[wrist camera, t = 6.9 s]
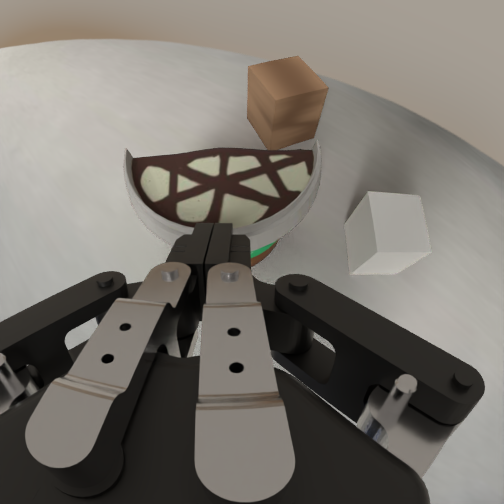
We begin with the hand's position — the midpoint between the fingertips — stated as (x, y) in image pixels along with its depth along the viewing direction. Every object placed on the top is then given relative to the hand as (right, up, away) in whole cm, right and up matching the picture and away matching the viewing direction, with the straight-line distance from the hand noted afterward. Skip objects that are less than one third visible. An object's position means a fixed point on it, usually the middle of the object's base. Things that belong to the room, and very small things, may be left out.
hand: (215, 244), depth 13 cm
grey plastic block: (+12, 0, +13) cm, 17 cm away
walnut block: (+4, +12, +16) cm, 21 cm away
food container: (0, 0, +12) cm, 12 cm away
